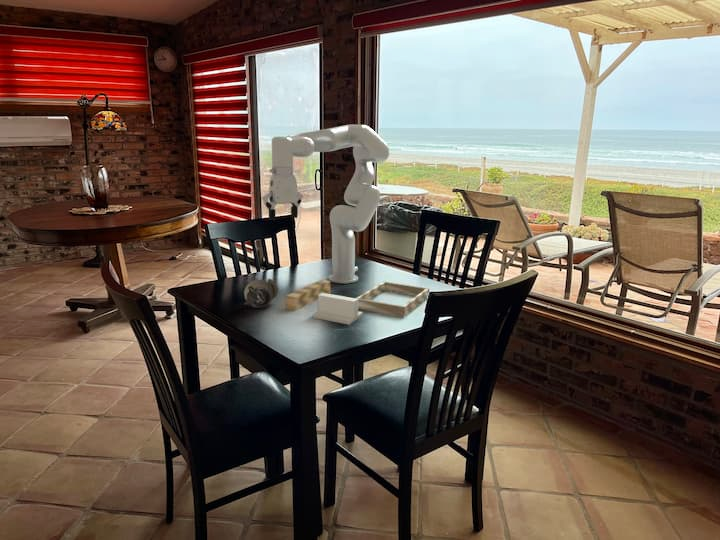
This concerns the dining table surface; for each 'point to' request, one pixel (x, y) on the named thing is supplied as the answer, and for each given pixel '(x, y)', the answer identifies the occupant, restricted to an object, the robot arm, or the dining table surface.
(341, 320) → the ridge block
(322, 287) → the oak batten
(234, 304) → the dining table surface
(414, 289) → the birch crate frame
